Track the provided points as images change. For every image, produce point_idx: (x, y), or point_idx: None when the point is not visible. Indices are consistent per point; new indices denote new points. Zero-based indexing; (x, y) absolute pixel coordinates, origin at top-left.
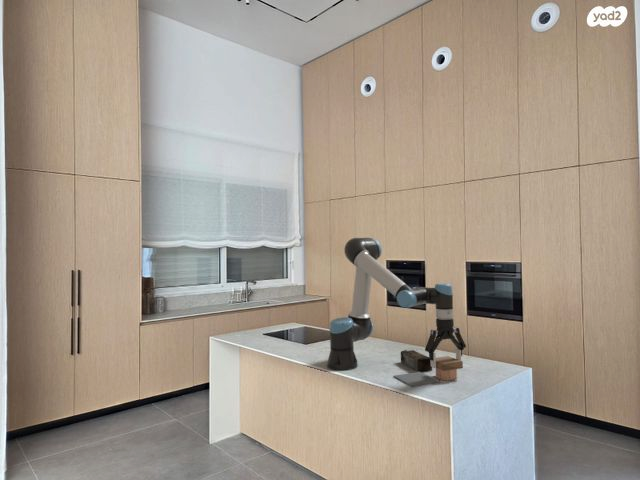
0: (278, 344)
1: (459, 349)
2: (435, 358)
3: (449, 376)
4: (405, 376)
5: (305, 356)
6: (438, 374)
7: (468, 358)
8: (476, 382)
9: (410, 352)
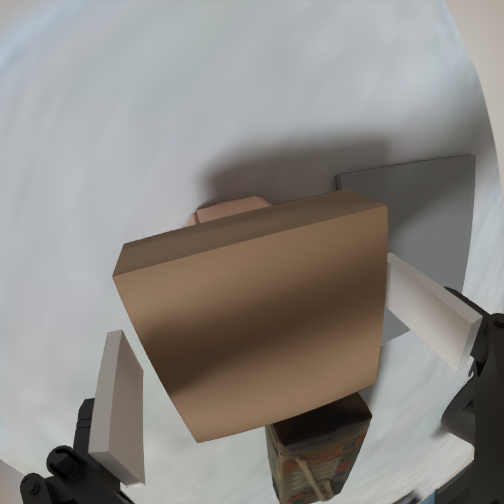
0: (443, 474)
1: (104, 466)
2: (435, 294)
3: (262, 202)
4: None
5: None
6: None
7: None
8: (74, 120)
9: (329, 487)
